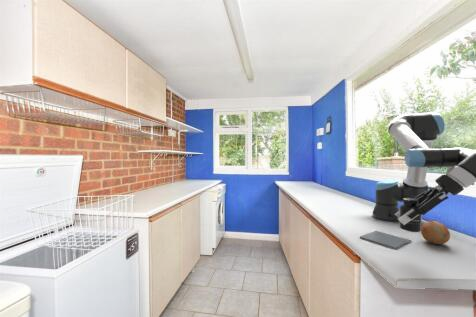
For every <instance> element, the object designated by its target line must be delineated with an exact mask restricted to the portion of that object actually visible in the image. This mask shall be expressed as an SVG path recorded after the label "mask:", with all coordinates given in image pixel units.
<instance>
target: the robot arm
mask: <svg viewBox="0 0 476 317" xmlns="http://www.w3.org/2000/svg"><path fill="white" fill-rule="evenodd" d="M445 125H446V124H445V120H444V117H443V116H442V114H440V113H438V112H422V113H421V112H420V113H406V114H405V113H404V114H401V115H399V116H396V117H395V118H393V120H391V121H390V122H389V125H388V127H387V131H388V134H389V135H390V136H391V137H392V138H393V139H396V141H397V142H398V143H399V145H400V147H401V148H403V150H404V161H405V165H406V166H407V173H406V177H405V178H403V179H402V182H399V181H398V180H393V179H392V180H380V181H378V182H376V183H375V206H374V208H373V211H372V212H371V213H372V218H375V219H376V220H381V221H385V222H386V221H388V222H399V221H400V222H401V223H402V224H403V225H405V224H407V223H408V222H410V221H411V220H412V219H414V218H415V217H417V216H418V215H419V214H420V215H421V214H422V215H423V216H424V215H426V214H427V213H428V212H430V211H431V210H433V209H434V208H436V206H438V205H439V204H442V202H444V201H446V200H448V199H449V196H447V195H448V194H450V195H453V196H457V195H459V194H460V193H461V192H462V191H463V192H464V190H465V188H469V187H471V186H475V183H476V149H471V148H468V147H467V148H466V147H463V146H462V147H458V146H456V147H452V148H432V146H433V142H434V141H436V140H437V139H438V136H440V135H443V134H444V132H445V127H446V126H445ZM428 168H449V169H448V170H447V171H445V174H441V175H440V176H439V177H437V178H436V179H434V180H435V183H436V184H437V185H436V186H433V187H432V186H431V185H430V184H429V183H428V181H426V178H427V173H428ZM403 198H412V199H417V200H419V205H418V206H417V207H416V208H415V207H412V208H413V209H411V210H410V211H408V212H407V213H406V214H404V215H403V216H401V217H400V218H399V216H400V207H399V203H403Z"/></svg>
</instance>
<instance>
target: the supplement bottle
mask: <svg viewBox="0 0 476 317" xmlns="http://www.w3.org/2000/svg"><path fill="white" fill-rule="evenodd" d="M418 205H419V200H417V199H412V198H403V202H402V204H401V205H400V206H399V211H400V216H399V218H400V217H401V216H403V215H404V214H406V213H407V212H408V211H410V210H411V209H413V208H412V207H415V208H416V207H417V206H418ZM422 218H423V217H422V214H421V215H420V214H419V215H418V216H417V217H415V218H414V219H412V220H411V221H410V222H408V223H407V224H405V225H403V224H402V223H401V222H400V221H398V223H399V228H400V229H401V230H403V231H406V232H409V233H410V232H411V233H421V227H422Z"/></svg>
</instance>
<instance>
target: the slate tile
mask: <svg viewBox="0 0 476 317" xmlns="http://www.w3.org/2000/svg"><path fill="white" fill-rule="evenodd" d="M359 239H362V240H364V241H367V242H372V243H374V244H378V245H380V246H384V247H387V248H391V249H393V250H398V249H399V248H403V247H404V246H405V245H408V244H410V243H412V240H411V239H409V238H405V237H401V236H398V235H394V234H390V233H387V232H382V231H379V230H374V231H370V232H368V233H366V234H363V235H361V236H359Z"/></svg>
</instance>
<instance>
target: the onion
mask: <svg viewBox="0 0 476 317" xmlns="http://www.w3.org/2000/svg"><path fill="white" fill-rule="evenodd" d="M450 233H451V232H450V230H449V228H448V227H447V226H446V225H444V224H443V223H442V222H440V221H437V220H430V221H426V222H424V223H423V224H421V231H420V234H421V236H422V238H423V239H424V240H425V241H427V242H429V244H433V245H443V244H444V245H445V244H446V243H448V241H449V240H450V238H451V234H450Z"/></svg>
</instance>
